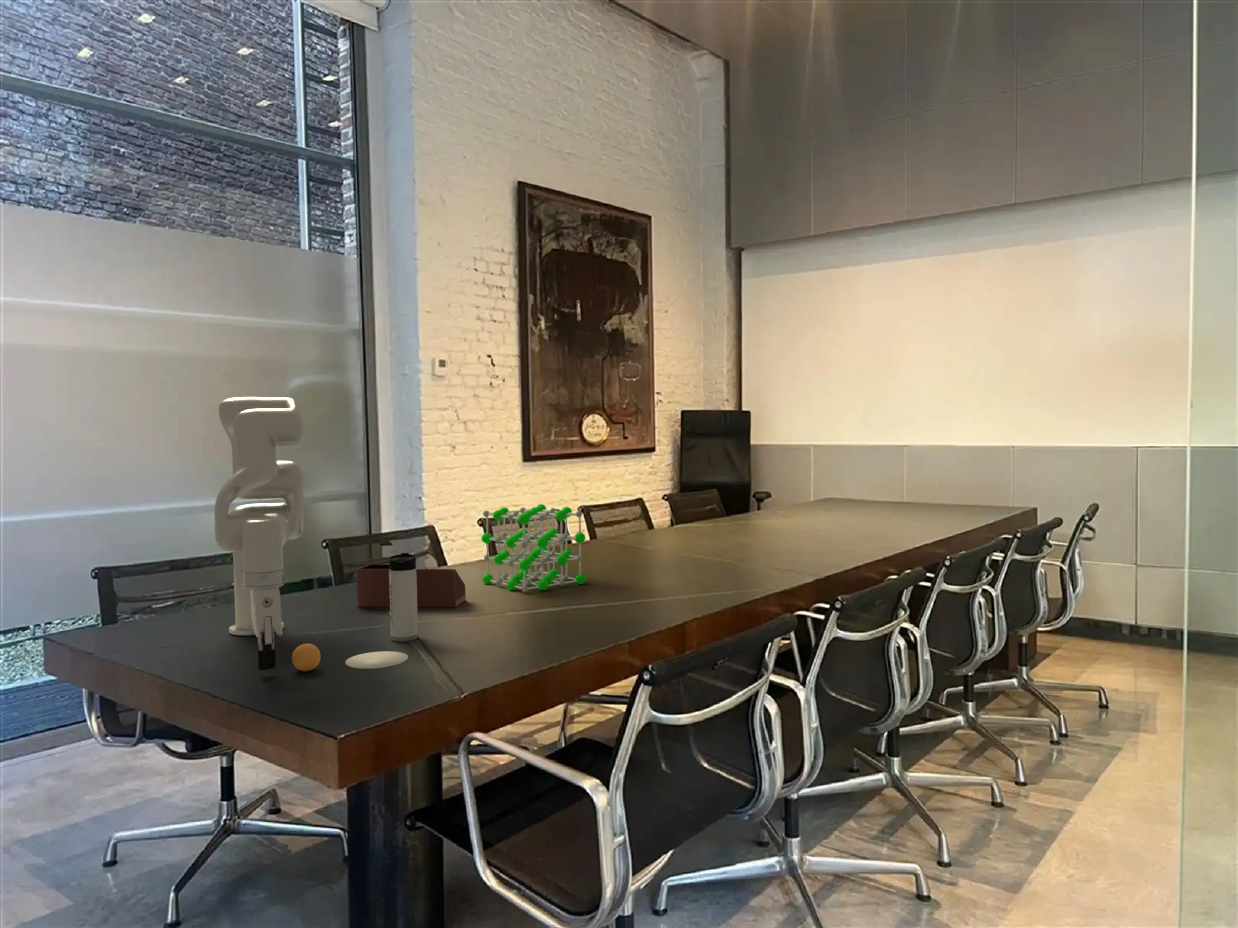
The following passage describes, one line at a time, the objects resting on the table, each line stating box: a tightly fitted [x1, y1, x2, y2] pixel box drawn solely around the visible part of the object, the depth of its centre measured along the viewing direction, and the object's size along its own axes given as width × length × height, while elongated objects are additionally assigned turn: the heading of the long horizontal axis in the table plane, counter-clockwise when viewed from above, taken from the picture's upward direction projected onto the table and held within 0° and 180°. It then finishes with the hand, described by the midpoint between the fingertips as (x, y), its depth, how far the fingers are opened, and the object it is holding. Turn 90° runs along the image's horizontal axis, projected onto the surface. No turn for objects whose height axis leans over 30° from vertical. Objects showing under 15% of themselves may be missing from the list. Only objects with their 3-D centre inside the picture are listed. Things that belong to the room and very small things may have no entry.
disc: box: [344, 650, 409, 670], centre depth 185 cm, size 13×13×1 cm
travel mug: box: [388, 552, 419, 643], centre depth 204 cm, size 6×7×20 cm
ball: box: [291, 643, 321, 672], centre depth 178 cm, size 6×6×6 cm
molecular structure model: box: [480, 503, 587, 593], centre depth 271 cm, size 24×25×24 cm
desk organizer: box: [355, 563, 468, 610], centre depth 243 cm, size 10×29×11 cm, turn 84°
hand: (266, 668), depth 175 cm, fingers closed
